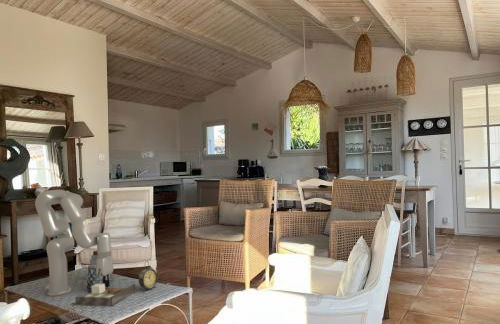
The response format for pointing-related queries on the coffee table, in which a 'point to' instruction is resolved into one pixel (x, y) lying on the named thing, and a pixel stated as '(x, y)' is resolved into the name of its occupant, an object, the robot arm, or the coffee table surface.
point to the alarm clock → (147, 278)
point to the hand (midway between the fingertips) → (106, 286)
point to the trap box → (106, 296)
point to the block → (98, 288)
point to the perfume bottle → (94, 258)
